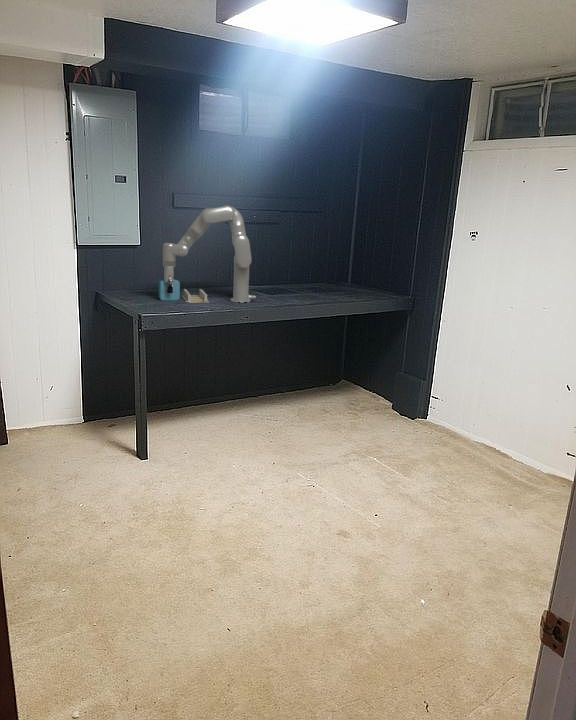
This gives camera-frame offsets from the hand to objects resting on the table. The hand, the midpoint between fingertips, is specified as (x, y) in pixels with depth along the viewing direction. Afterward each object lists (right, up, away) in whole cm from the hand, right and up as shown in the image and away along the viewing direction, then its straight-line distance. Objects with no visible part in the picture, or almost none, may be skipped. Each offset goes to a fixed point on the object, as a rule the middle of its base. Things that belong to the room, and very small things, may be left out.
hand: (169, 291), depth 360 cm
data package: (0, -5, +2) cm, 5 cm away
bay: (+15, -4, +6) cm, 17 cm away
